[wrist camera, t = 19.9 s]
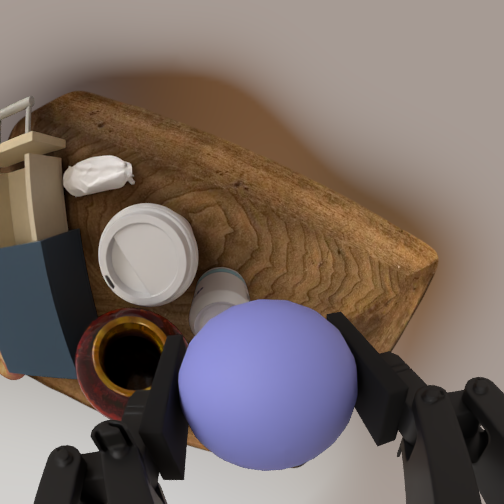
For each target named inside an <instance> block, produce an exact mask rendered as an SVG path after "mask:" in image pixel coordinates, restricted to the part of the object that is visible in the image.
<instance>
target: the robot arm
mask: <svg viewBox="0 0 504 504" xmlns="http://www.w3.org/2000/svg"><path fill="white" fill-rule="evenodd" d="M327 320H328V321H329V322H330V323H331V324H333V325H334V326H335V327H336V328H337V329H338V330H339V331H340V333H341V334H342V336H343V338H344V340H345V342H346V343H347V345H348V347H349V349H350V351H351V353H352V354H353V356H354V359H355V363H356V367H357V382H358V396H357V400H356V403H355V409H356V410H357V412H358V414H359V416H360V417H361V419H362V421H363V422H364V424H365V426H366V427H367V429H368V431H369V433H370V434H371V436H372V438H373V439H374V441H375V443H376V445H377V446H380V445H383V444H385V443H388V442H390V441H394V440H395V439H396V435H397V432H398V430H399V432H400V433H401V435H402V436H403V438H402V441H401V444H400V447H399V450H398V453H397V457H399V456H400V454H401V451H402V459H403V468H404V479H405V491H406V504H482V503H481V499H480V494H481V495H482V497H483V499H484V501H485V502H486V504H504V393H503V392H502V391H501V390H500V389H499V388H498V387H497V386H496V385H495V384H494V383H493V382H492V381H490V380H489V379H486V378H483V377H476V378H472V379H470V380H469V381H468V382H467V384H466V386H465V389H464V390H461V391H455V392H449V393H447V392H446V390H444V389H443V388H441V387H438V386H435V385H428V386H427V385H426V384H425V383H424V381H423V380H422V379H421V378H420V377H419V376H418V375H417V374H416V373H415V372H414V371H413V370H412V369H410V367H409V366H408V365H407V364H405V362H404V361H403V360H402V359H401V358H400V357H399V356H398V355H396V354H394V353H391V352H389V351H388V352H385V353H381V354H379V353H378V352H377V351H376V350H375V349H374V348H373V346H372V345H371V344H370V343H369V342H368V341H367V340H366V339H365V338H364V337H363V335H362V334H361V333H360V332H359V331H358V330H357V329H356V328H355V327H354V326H353V324H352V323H351V322H350V321H349V320H348V319H347V318H346V317H345V316H344V315H343V314H342V312H337V313H331V314H327ZM185 353H186V348H185V343H184V339H183V335H171V336H167V338H166V341H165V344H164V348H163V351H162V354H161V357H160V360H159V363H158V366H157V370H156V373H155V376H154V379H153V383H152V386H151V389H150V390H136V391H135V392H134V393H133V394H132V395H131V396H130V397H129V400H128V402H127V405H126V408H125V411H124V414H123V416H122V419H121V421H119V420H107V421H104V422H101V423H100V424H98V425H97V426H95V428H94V429H93V430H92V432H91V438H92V440H93V441H94V443H95V445H96V446H97V448H98V449H99V451H98V452H92V453H86V454H80V453H79V451H78V449H76V448H75V447H73V446H68V445H66V446H60V447H58V448H56V449H54V450H53V451H52V452H51V454H50V455H49V457H48V460H47V463H46V466H45V469H44V472H43V475H42V478H41V481H40V484H39V487H38V491H37V494H36V497H35V501H34V504H167V502H166V499H165V496H164V494H163V491H162V488H161V486H160V485H159V483H158V476H159V473H160V474H161V476H162V478H163V479H164V480H184V472H185V459H186V447H187V436H188V425H189V424H188V422H187V420H186V418H185V417H184V415H183V413H182V410H181V406H180V399H179V384H178V377H179V370H180V367H181V364H182V362H183V359H184V356H185ZM481 425H482V426H483V428H484V429H485V430H483V429H482V428H481V427H480V426H481ZM479 492H480V494H479Z"/></svg>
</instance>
